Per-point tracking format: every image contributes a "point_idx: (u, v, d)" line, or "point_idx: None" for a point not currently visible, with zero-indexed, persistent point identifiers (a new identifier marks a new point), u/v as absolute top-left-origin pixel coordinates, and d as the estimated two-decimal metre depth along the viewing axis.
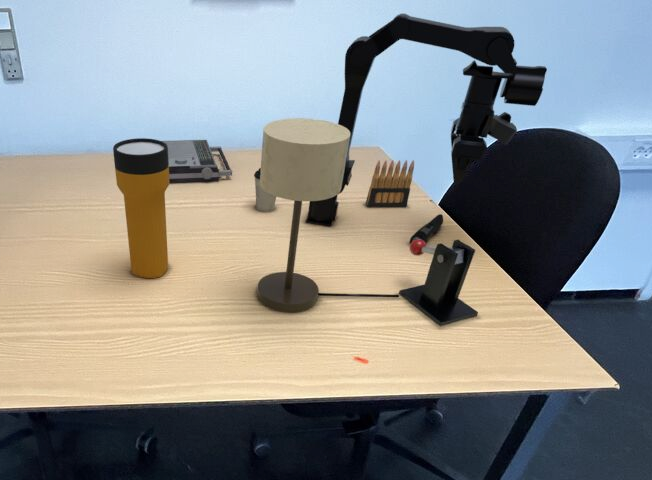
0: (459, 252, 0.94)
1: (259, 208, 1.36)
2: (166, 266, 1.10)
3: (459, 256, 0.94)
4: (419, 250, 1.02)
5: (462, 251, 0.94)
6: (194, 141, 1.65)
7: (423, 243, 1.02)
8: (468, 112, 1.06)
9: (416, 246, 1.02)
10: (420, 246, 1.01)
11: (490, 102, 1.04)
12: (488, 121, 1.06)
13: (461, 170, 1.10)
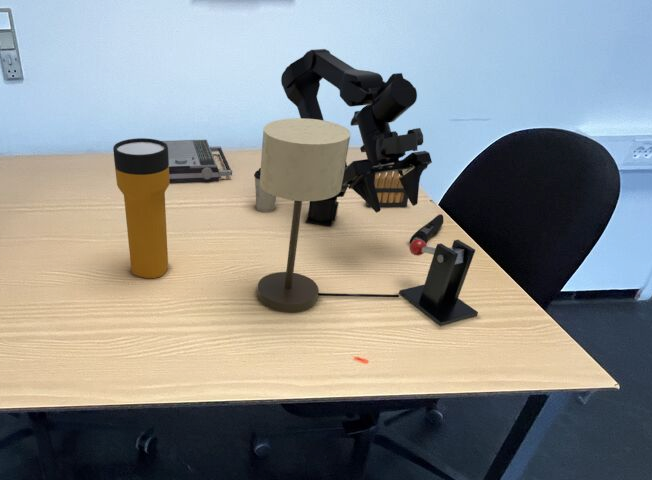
0: (459, 252, 0.94)
1: (259, 208, 1.36)
2: (166, 266, 1.10)
3: (459, 256, 0.94)
4: (419, 250, 1.02)
5: (462, 251, 0.94)
6: (194, 141, 1.65)
7: (423, 243, 1.02)
8: (364, 148, 1.07)
9: (416, 246, 1.02)
10: (420, 246, 1.01)
11: (372, 129, 1.04)
12: (377, 144, 1.03)
13: (369, 196, 1.04)
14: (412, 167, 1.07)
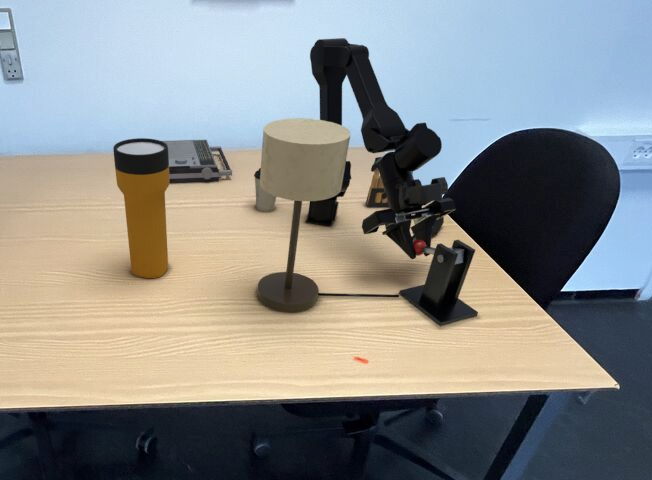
0: (459, 252, 0.94)
1: (259, 208, 1.36)
2: (166, 266, 1.10)
3: (459, 256, 0.94)
4: (419, 250, 1.02)
5: (462, 251, 0.94)
6: (194, 141, 1.65)
7: (423, 243, 1.02)
8: (386, 196, 1.04)
9: (416, 246, 1.02)
10: (420, 246, 1.01)
11: (394, 177, 1.01)
12: (399, 193, 1.00)
13: (404, 243, 1.02)
14: (424, 217, 1.03)
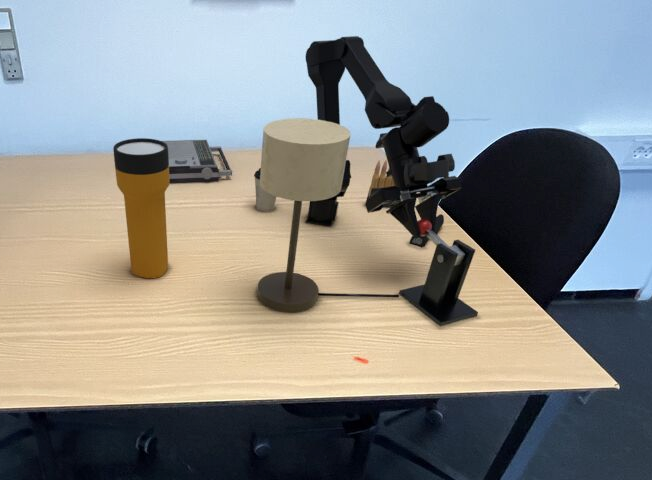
0: (460, 256, 0.94)
1: (259, 208, 1.36)
2: (166, 266, 1.10)
3: (458, 259, 0.94)
4: (423, 233, 1.00)
5: (463, 255, 0.94)
6: (194, 141, 1.65)
7: (429, 226, 0.99)
8: (390, 173, 1.02)
9: (421, 228, 0.99)
10: (425, 229, 0.99)
11: (400, 154, 0.98)
12: (405, 170, 0.98)
13: (408, 222, 1.00)
14: (429, 195, 1.00)
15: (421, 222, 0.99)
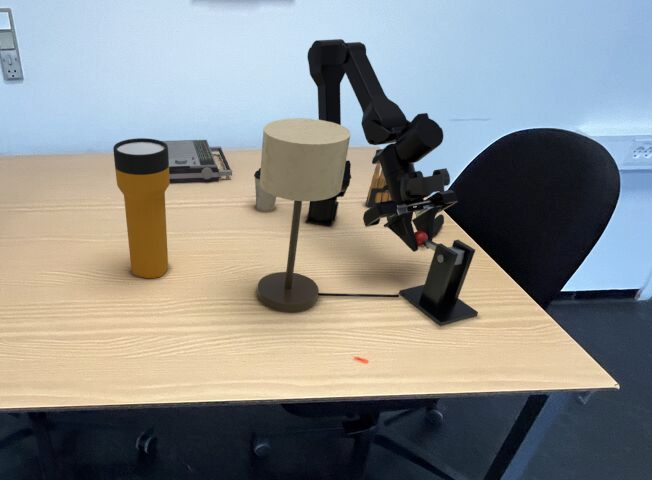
0: (459, 254, 0.94)
1: (259, 208, 1.36)
2: (166, 266, 1.10)
3: (459, 257, 0.94)
4: (420, 243, 1.01)
5: (462, 253, 0.94)
6: (194, 141, 1.65)
7: (425, 236, 1.01)
8: (387, 188, 1.03)
9: (417, 238, 1.01)
10: (421, 239, 1.01)
11: (396, 169, 1.00)
12: (401, 184, 0.99)
13: (406, 235, 1.01)
14: (426, 209, 1.02)
15: (416, 233, 1.01)
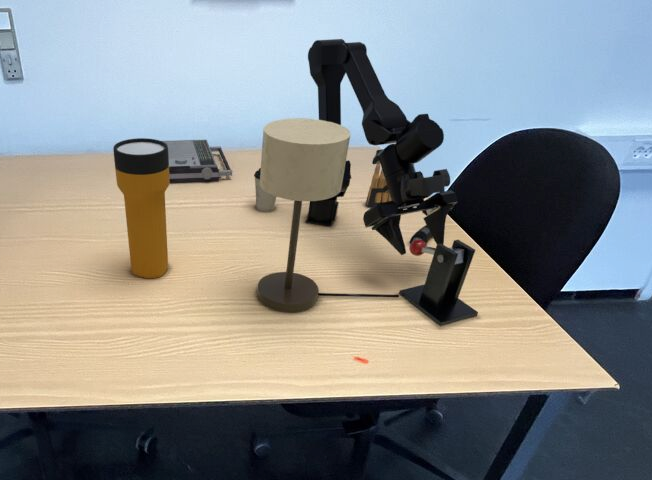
0: (459, 252, 0.94)
1: (259, 208, 1.36)
2: (166, 266, 1.10)
3: (459, 256, 0.94)
4: (419, 250, 1.02)
5: (462, 251, 0.94)
6: (194, 141, 1.65)
7: (423, 243, 1.02)
8: (387, 188, 1.03)
9: (416, 246, 1.02)
10: (420, 246, 1.01)
11: (396, 170, 1.00)
12: (401, 185, 0.99)
13: (394, 238, 1.00)
14: (437, 207, 1.03)
15: (414, 241, 1.02)
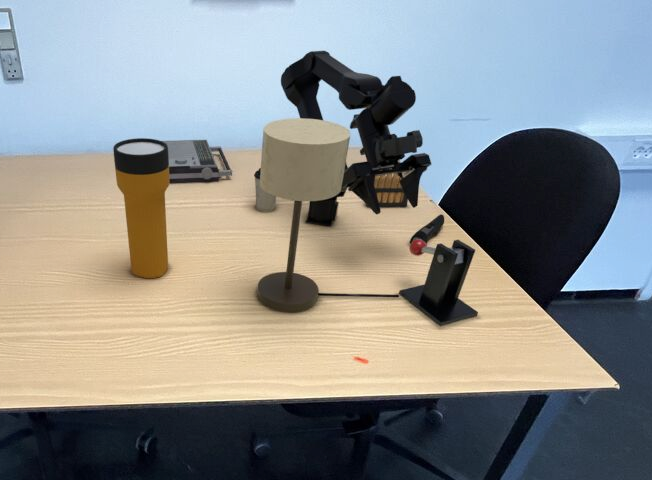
0: (459, 252, 0.94)
1: (259, 208, 1.36)
2: (166, 266, 1.10)
3: (459, 256, 0.94)
4: (419, 250, 1.02)
5: (462, 251, 0.94)
6: (194, 141, 1.65)
7: (423, 243, 1.02)
8: (364, 151, 1.07)
9: (416, 246, 1.02)
10: (420, 246, 1.01)
11: (371, 132, 1.04)
12: (376, 146, 1.03)
13: (369, 198, 1.04)
14: (412, 169, 1.07)
15: (414, 241, 1.02)
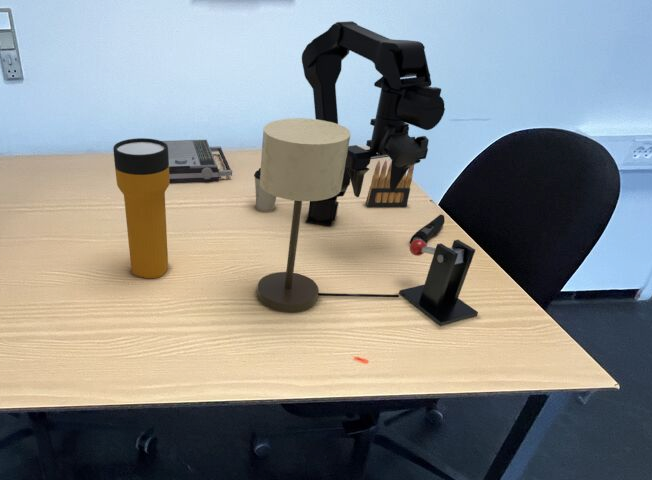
0: (459, 252, 0.94)
1: (259, 208, 1.36)
2: (166, 266, 1.10)
3: (459, 256, 0.94)
4: (419, 250, 1.02)
5: (462, 251, 0.94)
6: (194, 141, 1.65)
7: (423, 243, 1.02)
8: (374, 124, 1.04)
9: (416, 246, 1.02)
10: (420, 246, 1.01)
11: (389, 118, 1.00)
12: (384, 137, 1.02)
13: (355, 181, 1.08)
14: None
15: (414, 241, 1.02)
